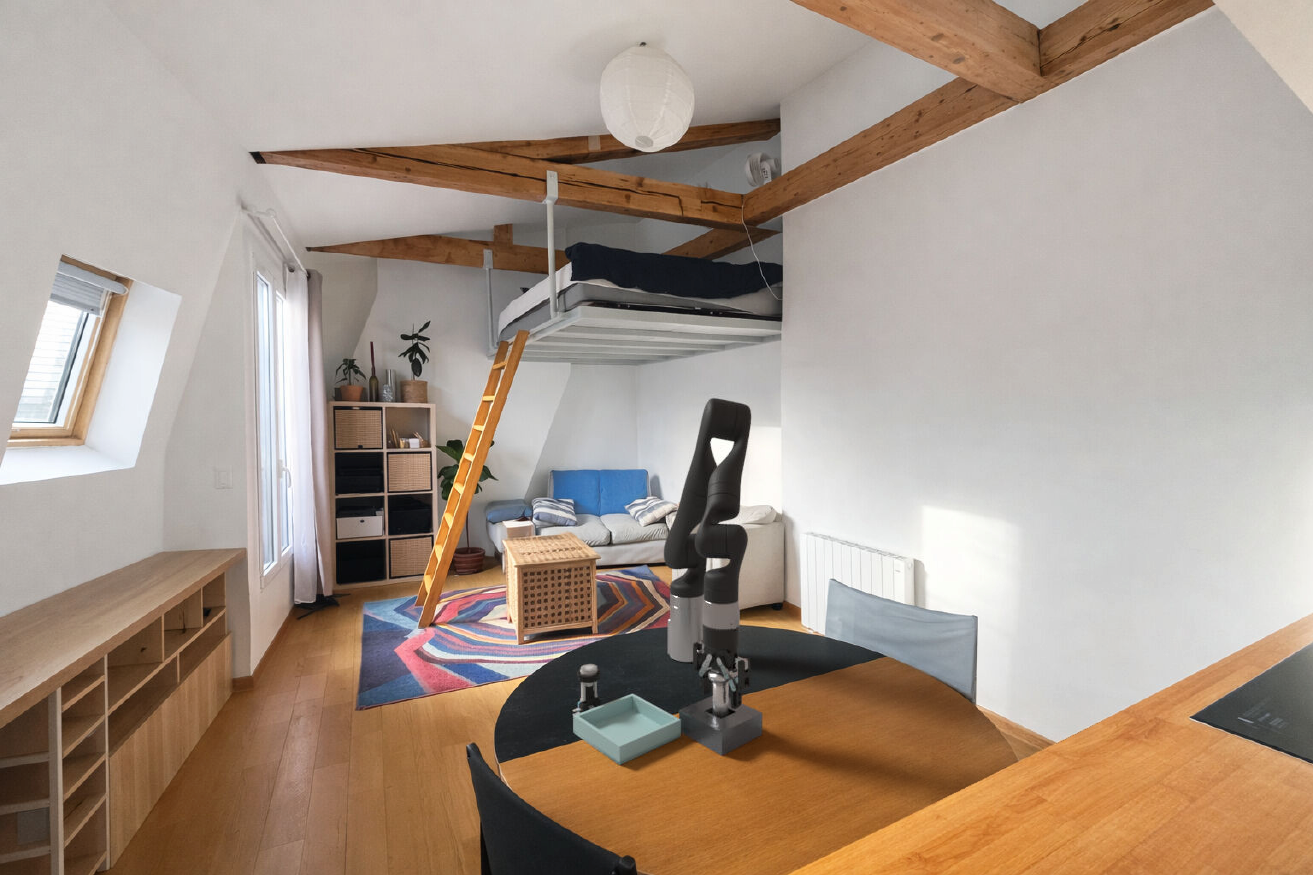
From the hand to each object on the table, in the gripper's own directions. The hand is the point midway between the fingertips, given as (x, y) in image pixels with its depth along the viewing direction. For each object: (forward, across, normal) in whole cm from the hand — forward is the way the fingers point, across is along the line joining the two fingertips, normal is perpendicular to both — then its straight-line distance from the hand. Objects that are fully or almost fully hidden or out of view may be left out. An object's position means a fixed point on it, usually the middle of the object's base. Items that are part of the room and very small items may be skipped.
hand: (720, 700), depth 125 cm
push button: (+7, -25, -16) cm, 30 cm away
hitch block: (+7, 0, 0) cm, 7 cm away
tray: (+7, -12, -15) cm, 20 cm away
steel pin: (+7, 0, 0) cm, 7 cm away
